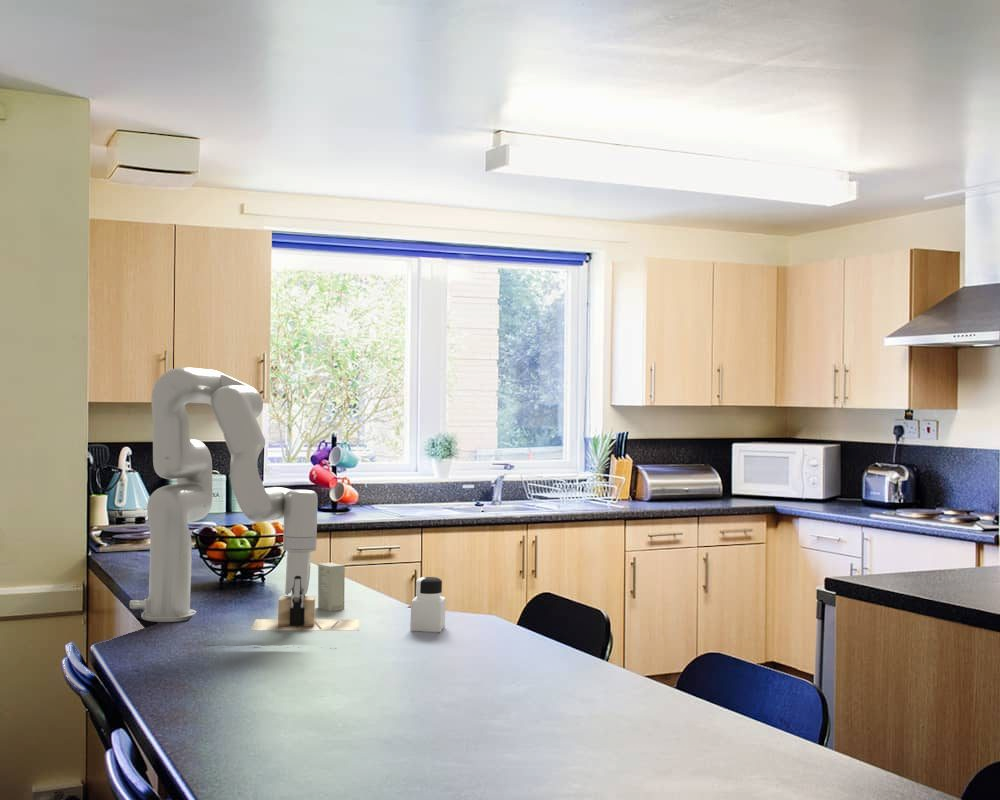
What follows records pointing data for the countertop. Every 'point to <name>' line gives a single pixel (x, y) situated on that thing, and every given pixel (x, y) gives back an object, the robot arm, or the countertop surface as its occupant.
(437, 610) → the medicine bottle
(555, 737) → the countertop surface
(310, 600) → the block
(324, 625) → the board
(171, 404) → the robot arm
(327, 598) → the skincare box
